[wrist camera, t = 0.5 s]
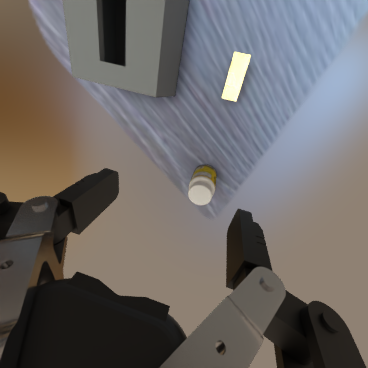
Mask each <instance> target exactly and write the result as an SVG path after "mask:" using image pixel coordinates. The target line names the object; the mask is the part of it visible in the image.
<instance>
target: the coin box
mask: <svg viewBox="0 0 368 368" xmlns="http://www.w3.org/2000/svg"><path fill="white" fill-rule="evenodd" d="M188 6H189V0H63V8H64V15H65V23H66V31H67V38H68V46H69V54H70V61H71V69H72V76H73V77H75V78H80V79H84V80H88V81H92V82H96V83H100V84H104V85H108V86H112V87H116V88H120V89H124V90H128V91H133V92H137V93H141V94H145V95H149V96H153V97H168V96H175V93H176V86H177V79H178V73H179V66H180V59H181V52H182V46H183V39H184V32H185V26H186V19H187V12H188Z"/></svg>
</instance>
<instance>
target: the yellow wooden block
mask: <svg viewBox="0 0 368 368" xmlns="http://www.w3.org/2000/svg"><path fill="white" fill-rule="evenodd" d="M250 57H251V55H248V54H243V53H239V52H234V55H233V59H232V62H231V66H230V70H229V73H228V77H227V80H226V84H225V87H224V91H223V94H222V98H223V99H228V100H232V101H236V100H237V97H238V94H239V91H240V88H241V85H242V82H243V79H244V76H245V73H246V70H247V67H248V64H249V61H250Z"/></svg>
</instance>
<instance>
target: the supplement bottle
mask: <svg viewBox="0 0 368 368" xmlns="http://www.w3.org/2000/svg"><path fill="white" fill-rule="evenodd" d="M216 177H217V174H216V171H215V169H214V168H213V167H211V166H209V165H201V166H199V167H197V168H196V170H195V172H194V174H193V176H192V179H191V181H190V184H189V192H188V196H189V199H190V200H191V201H192V202H193V203H194V204H197V205H205V204H207V203H209V202H210V200H211V198H212V196H213V194H214V192H215V185H216Z"/></svg>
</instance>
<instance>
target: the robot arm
mask: <svg viewBox="0 0 368 368" xmlns="http://www.w3.org/2000/svg"><path fill="white" fill-rule="evenodd" d="M118 178H119V177H118V172H116V171H113V170H110V169H107V168H105V169H103V170H101V171H100V172H98V173H94V174H91V175H88V176H86V177H84V178H83V179H81V180H80V181H78V182H76V183H75V184H73V185H71V186H70V187H68V188H66V189H65V190H63V191H62V192H60V193H58V194H57V195H55V196H53V197H50V196H40V197H35V198H32V199H30V200H27V201H26V202H24V203H23V202H9V201H8V199H7V196H6V195H5V194H4V193H1V192H0V368H248V367H249V366H250V364H251V362H252V361H253V359H254V357H255V355H256V354H257V352H258V350H259V349H260V346H261V345H262V342H263V337H262V336H263V335H264V336H265V337H266V338H268V339H269V340H271V342H273V343H274V348H275V355H276V363H277V368H366V366H365V364H364V361H363V359H362V357H361V355H360V353H359V350H358V348H357V346H356V344H355V342H354V339H353V338H352V335H351V333H350V331H349V329H348V327H347V325H346V324H345V322H344V321H343V320H342V318H341V317H340V316H339V315H338V314H337V313H336V312H335V311H334V310H333V309H332V308H330V307H329V306H327V305H326V304H324V303H322V302H319V301H312V302H311V303H309V304H306V303H304V302H303V301H301V300H300V299H298V298H297V297H295V296H293V295H292V294H290V293H289V292H288V291H286V290H285V287H284V285H283V283H282V281H281V279H280V278H279V277H278V276H277V275H276V274H275V273H274V272H273V271H272V268H271V263H270V259H269V255H268V251H267V246H266V242H265V240H264V234H263V230H262V229H261V227H260V226H259V224H258V223H255V222H253V219H252V214H251V213H250V212H248V211H245V210H241V209H238V210H237V211H236V213H235V215H234V217H233V219H232V221H231V223H230V226H229V228H228V232H227V269H226V272H227V273H226V277H227V278H226V287H228V288H231V289H233V292H232V293H231V294H230V295H229V296H227V297H226V298H225V299H224V300H223V301H222V302H221V303H220V304H219V305H218V306H217V307H216V308H215V309H214V310H213V311H212V313H210V314H209V316H208V317H207V318H206V319H205V320H204V321H203V322H202V323H201V324H200V325H199V326H198V327H197V328H196V329H195V331H193V332H192V333H191V335H190V336H189V337H188V338H187V337H186V335H185V333H184V331H183V330H182V328H181V327H180V325H179V324H178V323H177V322H176V321H175V320H174V318H173V317H171V316H170V315H169V314H168V311H169V307H170V306H168V305H165V304H163V303H160V302H157V301H154V300H152V299H149V298H147V297H132V296H119V295H117V294H116V293H114V292H113V291H112V290H111V289H109V288H108V287H107V286H106V285H105V284H103V283H102V282H101V281H100V280H98V279H96V278H93V277H91V276H88V275H85V274H82V273H80V272H76V274H75V275H74V276H73V277H72V278H69V279H64V275H63V266H64V260H65V253H66V245H67V240H68V238H67V235H68V234H69V233H70V232H73V233H76V234H80V233H81V232H82V231H83V230H84V229H85V228H86V227H87V226H88V225H89V224H90V223H91V222H92V221H93V220H95V218H97V217H98V216H99V215H100V214H101V213H102V212H103V211H104V210H105V209H106V208H107V207H108V206H109V205H110V204H111V203H112V202H113V201H114V200H115V199H116V198H117V195H118V193H119V179H118Z"/></svg>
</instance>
